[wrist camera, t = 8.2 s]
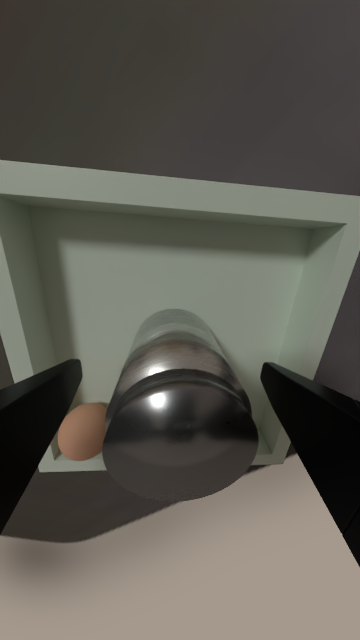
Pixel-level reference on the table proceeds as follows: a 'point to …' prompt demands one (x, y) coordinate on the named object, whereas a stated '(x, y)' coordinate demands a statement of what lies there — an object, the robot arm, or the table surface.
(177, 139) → the table surface
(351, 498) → the robot arm
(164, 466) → the shaker
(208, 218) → the tray
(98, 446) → the tan ball
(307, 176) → the table surface
